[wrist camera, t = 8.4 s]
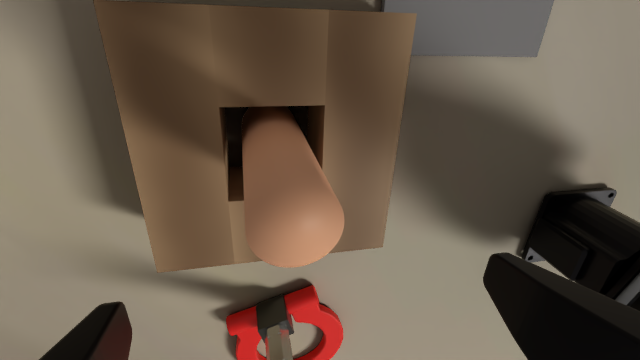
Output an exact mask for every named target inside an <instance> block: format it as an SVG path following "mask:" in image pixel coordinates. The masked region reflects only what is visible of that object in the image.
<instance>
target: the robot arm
mask: <svg viewBox="0 0 640 360" xmlns="http://www.w3.org/2000/svg"><path fill="white" fill-rule="evenodd" d="M616 193H617V192H616V190H614V189H612V188H598V189H586V190H575V191H563V192H552V193H549V194H547V195H546V196H545V197H544V199H543V202H542V204H541V207H540V210H539V212H538V215H537V218H536V220H535V223H534V225H533V228H532V231H531V233H530V236H529V238H528V241H527V244H526V246H525V249H524V252H523V254H522V259H521V258H519V257H517V256H514V255H512V254H510V253H497V254H493V255H491V256H490V258H489V261H488V264H487V267H486V270H485V273H484V276H483V282H484V286H485V288H486V290H487V291H488V293H489V295H490V297H491V299H492V300H493V302H494V304H495V306H496V308H497V309H498V311H499V313H500V315H501V317H502V318H503V320H504V322H505V324H506V326H507V327H508V329H509V331H510V333H511V334H512V336H513V338H514V339H515V341H516V343H517V344H518V346H519V347H520V349H521V350H522V352H523V353H524V355H525V356H526V358H527V359H528V360H640V223H639V222H637V221H635V220H634V219H632V218H630V217H628V216H626V215H624V214H622V213H620V212H618V211H617V210H615V209H613V208H611V207H610V206H611V204H612V202H613V200H614V198H615V196H616ZM545 260H546V261H547V262H548V263H549V264H551V265H552V266H553V267H554V268H556V269H557V270H558V271H559V272H561V273H562V274H563V275H564V276H565V277H567V278H568V279H569V280H568V279H566V278H564V277H562V276H559V275H557V274H555V273H553V272H550V271H548V270H546V269H544V268H541V267H539V266H537V265H535V264H532V263H531V262H538V261H545ZM573 281H574V282H573ZM575 282H576V283H575ZM131 341H132V328H131V324H130V321H129V318H128V314H127V311H126V308H125V305H124V304H123V303H122V302H111V303H104V304H101V305H99V306H98V307H96V308H95V309H94V310H93V311H92V312H91V313H90V314H89V315H88V316H86V317H85V318H84V319H83V320H82V321H81V322H80V323H79V324H78V325H77V326H75V327H74V328H73V329H72V330H71V331H70V332H69V333H68V334H67V335H66V336H64V337H63V338H62V339H61V340H60V341H59V342H58V343H57V344H56V345H55V346H53V347H52V348H51V349H50V350H49V351H48V352H47V353H46V354H45V355H44V356H42V357H41V358H40V359H39V360H128V357H129V351H130V346H131Z"/></svg>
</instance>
